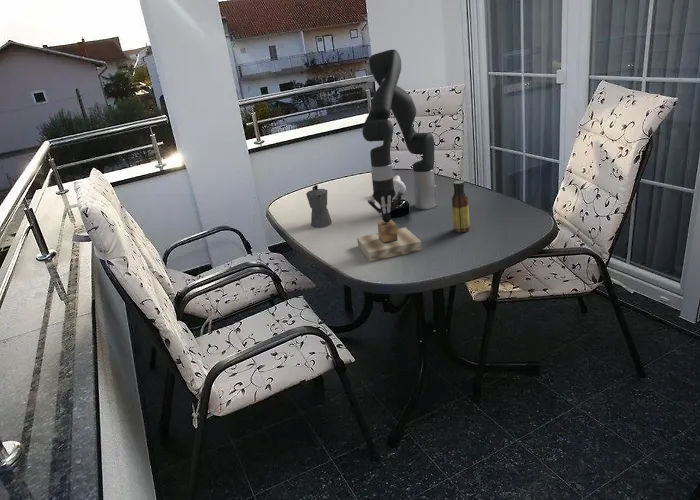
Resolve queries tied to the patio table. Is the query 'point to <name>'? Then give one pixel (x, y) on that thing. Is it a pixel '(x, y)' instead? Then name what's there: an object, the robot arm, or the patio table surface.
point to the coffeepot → (318, 207)
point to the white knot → (398, 185)
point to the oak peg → (387, 231)
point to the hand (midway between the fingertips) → (386, 221)
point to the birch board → (388, 245)
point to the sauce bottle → (460, 208)
